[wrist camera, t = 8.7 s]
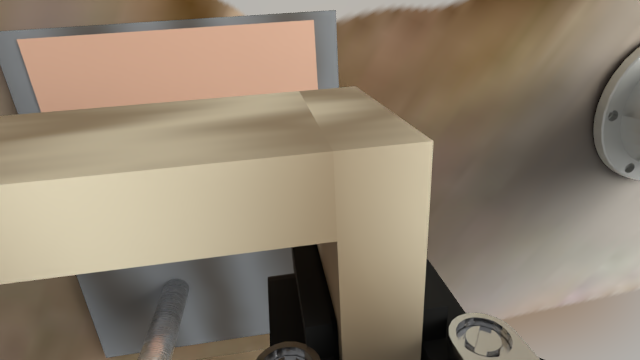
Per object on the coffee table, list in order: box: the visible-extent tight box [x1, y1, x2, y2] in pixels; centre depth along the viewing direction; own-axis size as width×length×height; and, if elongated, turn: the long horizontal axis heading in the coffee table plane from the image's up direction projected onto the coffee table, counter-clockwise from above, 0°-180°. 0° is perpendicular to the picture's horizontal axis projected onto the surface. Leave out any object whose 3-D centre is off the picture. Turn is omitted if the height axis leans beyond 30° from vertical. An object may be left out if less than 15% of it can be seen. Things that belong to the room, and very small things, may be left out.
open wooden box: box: [0, 86, 433, 360], centre depth 9 cm, size 16×10×5 cm, turn 93°
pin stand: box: [0, 10, 339, 360], centre depth 23 cm, size 21×26×16 cm
